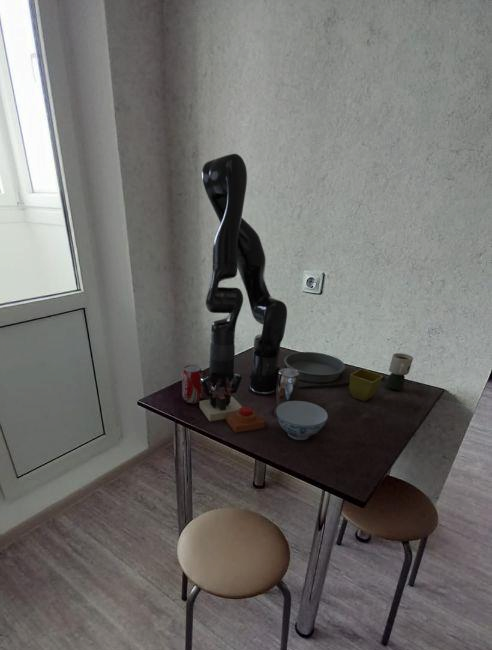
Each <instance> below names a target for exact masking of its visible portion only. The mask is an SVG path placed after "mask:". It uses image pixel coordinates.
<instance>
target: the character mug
mask: <svg viewBox="0 0 492 650" xmlns="http://www.w3.org/2000/svg"><path fill="white" fill-rule="evenodd" d="M413 360H414V357H413V355H410V354H408V353H402V352H396V353H393V354H392V356H391V361H390V364H389V368H388V371H389V373H390V374H389V375H388V379H387V380H386V383H385V387H386V388H388V389H392V390H394V391H402V390H403V389H404V385H405V378H406V377H405V376H407V375H408V374H409V373H410V371H411V367H412V364H413Z"/></svg>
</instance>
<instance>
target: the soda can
mask: <svg viewBox="0 0 492 650" xmlns="http://www.w3.org/2000/svg"><path fill="white" fill-rule="evenodd" d="M201 378H203V379H204V372H203V371H202V367H201V366H200V365H197V364H188V365H185V366H184V367H183V370H182V372H181V394H182V395H181V396H182V400H183V401H184V402H186V403H188V404H198V403H200V401H203V393H204V390H203V387H202V385H201V382H200V379H201Z"/></svg>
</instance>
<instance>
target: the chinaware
mask: <svg viewBox="0 0 492 650" xmlns="http://www.w3.org/2000/svg"><path fill="white" fill-rule="evenodd" d="M276 417H277V421H278V424H279V425H280V427H281V428H282V430H283V431H284V432H285V433H287V436H288V437H289V438H291V439H293V440H297V441H305V440H308V439H309V438H310V437H312V436H314V435H316V434H317V433H319V432H320V431H321V430H322V428H323V427H324V426H325V424H326V422H327V420H328V411H326V409H324V408H323V407H321V406H319V404H315V403H313V402H309V401H304V400H303V401H302V400H294V401H289V402H285V403H282V404H280V405H279V406H278V407H277V416H276Z"/></svg>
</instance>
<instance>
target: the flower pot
mask: <svg viewBox="0 0 492 650" xmlns="http://www.w3.org/2000/svg"><path fill="white" fill-rule="evenodd" d="M383 377H384V375H382V374H379V373H376V372H374V371H370V370H367V369H363V368H359V369H357V370H356V371H354V372H352V373H351V374H350V375H349V382H350V384H348V389H349V393H350V396H351V397H352V398H354V399H356V400H359V401H362V402H366V401H368V400H370V399H371V398H372V397H373V396H374V395H375V394H376V392H377V391H378V389H379V388H380V385H381V382H382V381H383V379H382V378H383Z"/></svg>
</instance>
